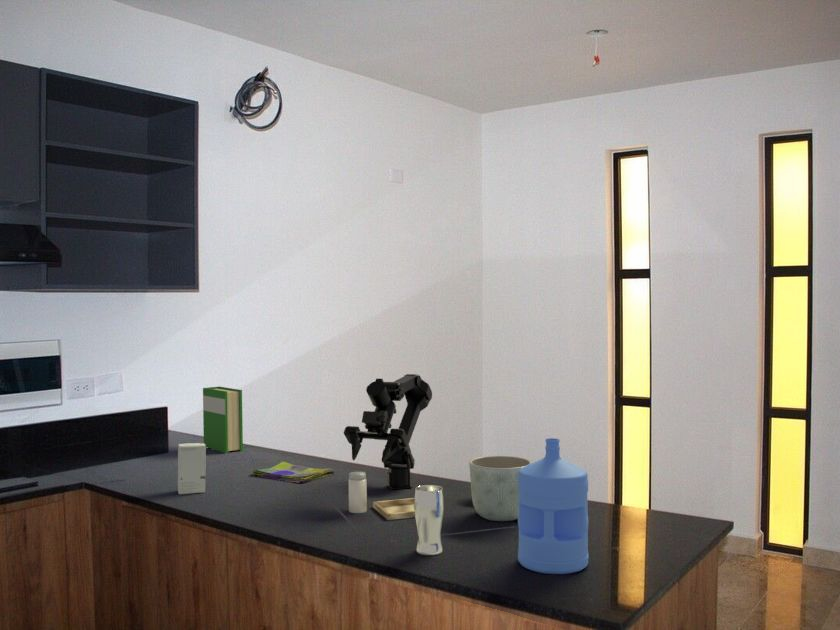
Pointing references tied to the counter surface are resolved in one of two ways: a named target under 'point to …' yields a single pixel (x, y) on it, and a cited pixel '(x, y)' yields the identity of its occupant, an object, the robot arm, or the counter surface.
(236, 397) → the hardback book
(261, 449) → the counter surface
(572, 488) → the water jug
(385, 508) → the tray
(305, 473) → the dish towel
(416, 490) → the beer glass
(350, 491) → the ball
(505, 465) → the planter
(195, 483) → the skincare box
